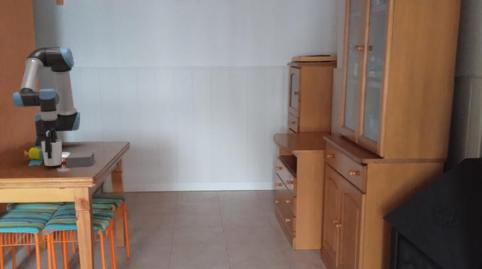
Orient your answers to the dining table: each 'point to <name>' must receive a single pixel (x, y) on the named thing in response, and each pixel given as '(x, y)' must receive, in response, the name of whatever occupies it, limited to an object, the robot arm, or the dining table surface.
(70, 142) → the dining table surface
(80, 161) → the block
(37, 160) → the yellow and blue toy
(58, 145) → the candle holder
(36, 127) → the robot arm
